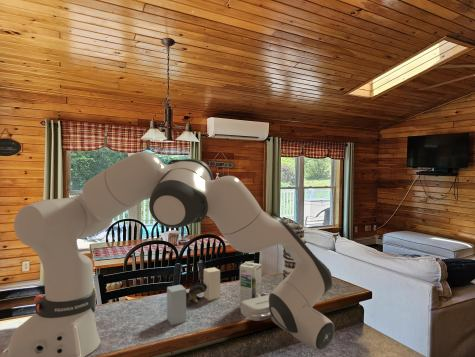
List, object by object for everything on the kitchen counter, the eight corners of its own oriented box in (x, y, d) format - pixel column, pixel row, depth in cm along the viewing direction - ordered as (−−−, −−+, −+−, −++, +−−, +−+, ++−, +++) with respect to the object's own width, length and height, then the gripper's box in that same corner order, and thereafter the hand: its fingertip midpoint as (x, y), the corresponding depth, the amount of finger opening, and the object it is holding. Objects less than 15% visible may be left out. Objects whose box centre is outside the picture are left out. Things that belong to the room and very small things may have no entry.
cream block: (208, 300, 114) (209, 272, 113) (203, 296, 118) (203, 269, 117) (220, 297, 116) (220, 270, 116) (214, 293, 120) (214, 267, 120)
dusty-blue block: (171, 325, 96) (171, 291, 95) (167, 319, 100) (167, 287, 99) (186, 321, 98) (186, 289, 98) (180, 315, 102) (180, 284, 102)
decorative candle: (306, 285, 129) (307, 223, 128) (305, 293, 120) (305, 227, 119) (284, 283, 131) (284, 222, 131) (280, 291, 123) (281, 226, 122)
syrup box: (238, 308, 107) (239, 265, 107) (246, 302, 112) (246, 261, 112) (254, 312, 105) (254, 267, 104) (261, 305, 110) (261, 263, 109)
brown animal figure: (201, 306, 106) (212, 291, 115) (188, 288, 107) (200, 275, 115) (185, 314, 109) (196, 299, 118) (173, 296, 110) (186, 283, 118)
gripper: (255, 331, 87) (230, 311, 99) (312, 314, 97) (283, 298, 109) (255, 308, 87) (231, 291, 99) (312, 294, 97) (283, 280, 109)
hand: (259, 294), depth 104 cm, fingers closed
